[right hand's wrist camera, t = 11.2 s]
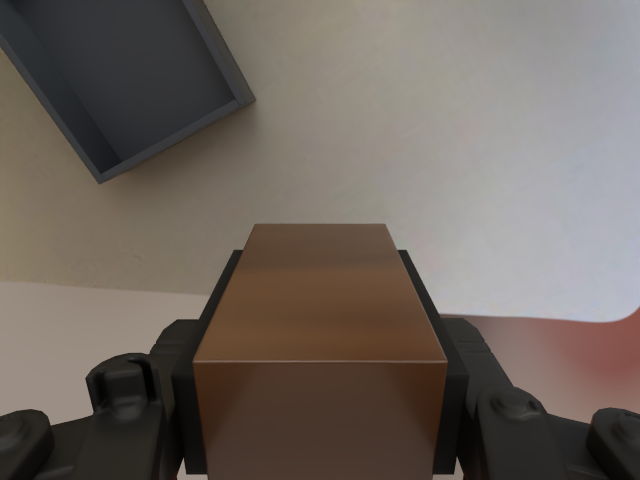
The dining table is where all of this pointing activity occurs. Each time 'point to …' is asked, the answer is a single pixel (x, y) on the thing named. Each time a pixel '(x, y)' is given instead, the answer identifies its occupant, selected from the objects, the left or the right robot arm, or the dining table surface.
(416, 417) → the walnut block
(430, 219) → the dining table surface
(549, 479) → the right robot arm
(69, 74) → the grey tray
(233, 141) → the dining table surface
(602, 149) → the dining table surface
